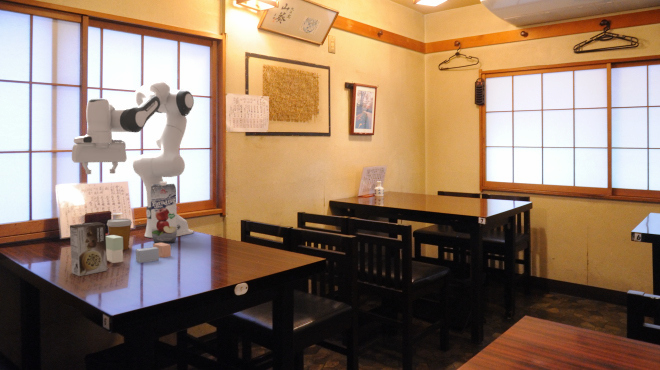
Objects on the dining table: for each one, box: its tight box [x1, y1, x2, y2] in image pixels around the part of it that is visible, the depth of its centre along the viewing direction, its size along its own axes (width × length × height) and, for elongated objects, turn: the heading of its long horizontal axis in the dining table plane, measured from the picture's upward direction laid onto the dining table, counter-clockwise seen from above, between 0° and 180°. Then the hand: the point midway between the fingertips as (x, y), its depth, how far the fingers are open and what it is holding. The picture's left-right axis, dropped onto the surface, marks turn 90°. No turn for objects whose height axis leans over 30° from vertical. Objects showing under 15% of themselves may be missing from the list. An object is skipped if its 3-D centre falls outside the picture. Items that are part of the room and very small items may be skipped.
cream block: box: [106, 249, 124, 264], centre depth 172 cm, size 4×7×4 cm, turn 45°
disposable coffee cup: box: [106, 218, 133, 251], centre depth 193 cm, size 10×10×12 cm
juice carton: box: [151, 180, 178, 244], centre depth 207 cm, size 9×10×27 cm
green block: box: [106, 235, 123, 251], centre depth 172 cm, size 4×7×4 cm, turn 50°
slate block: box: [135, 246, 160, 264], centre depth 172 cm, size 4×7×4 cm, turn 129°
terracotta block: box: [152, 243, 172, 258], centre depth 181 cm, size 4×7×4 cm, turn 48°
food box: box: [69, 221, 108, 277], centre depth 155 cm, size 9×6×16 cm
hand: (100, 173), depth 187 cm, fingers open, 8 cm apart
